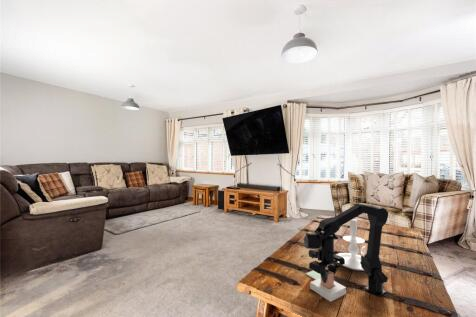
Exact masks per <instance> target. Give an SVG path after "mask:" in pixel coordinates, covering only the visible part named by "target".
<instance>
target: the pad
mask: <svg viewBox="0 0 476 317" xmlns="http://www.w3.org/2000/svg"><path fill="white" fill-rule="evenodd" d="M305 275H306V276H308V277H310V278H311V279H313V280H317V279H319V278H321V275H320V274H319V273H317V272H315V271H313V270H311V271H309V272H305Z"/></svg>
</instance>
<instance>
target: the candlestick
mask: <svg viewBox="0 0 476 317" xmlns="http://www.w3.org/2000/svg"><path fill="white" fill-rule="evenodd" d="M357 234H358V219H356V218H354V219H352V220H350V221H349V235H344V236H342V239H343V240H344V241H346V242H349V245H348V246H347V250H348V252H340V253H336V255H339V256H341V257H343V258H344V260H345V264H343V265H342V266H343V267H344V268H345V267H346V268H347V269H349V270H353V271H364V270H363V268H362V267H361V264H360V262H361V256H365V255H366V253H367V245H364V246H362V247H361V249H360V248H359V247H358V244H364V243H366V242H365V239H364V238H362V237H358V236H357ZM359 252H360V254H361V255H360V254H359ZM338 263H339V261H337V264H338Z"/></svg>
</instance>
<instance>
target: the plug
mask: <svg viewBox="0 0 476 317" xmlns="http://www.w3.org/2000/svg"><path fill="white" fill-rule="evenodd" d="M327 270H328V268H327ZM328 271H329V273H328V277H327V280H326V283H324V282H323V281H322V278H321V285H323V286H324V287H326V288H328V289H331V288H333V287H334V281H335V275H334V273H333V272H332V271H330V270H328Z"/></svg>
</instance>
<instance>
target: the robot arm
mask: <svg viewBox="0 0 476 317" xmlns="http://www.w3.org/2000/svg"><path fill="white" fill-rule="evenodd" d="M363 214H366V215H367V216H366V217H367V220H368V222H369V229H368V230H369V232H368V239H367V246H366V253H365V255H364V256H363V255H360V256H361V262H360V264H361V267H362V268H363V271H364V273H365V274H367V276H368V277H367V278H368V282H367V283H368V286H365V287H364V289H365V290H367V291H369V292H370V293H372V294H374V295H376V296H378V297H381V296H382V295H384V294H385V293H387V290H386V289H383V288H384V286H383V285H384V283H387V282H388V279H389V278H388V276H387V275H386V274H385V273H384V272H383V264H382V262H381V260H380V250H381V241H382V233H383V232H382V231H383V227H384V226H385V225H386V223H387V222H388V218H389V211H388V210H387V209H386V208H384V207H381V206H377V205H370V206H369V205H366V204H363V203H359V202H357V203H355V204H354V205H353V206H351V207H349V208H348V209H345V210H344V211H342V212H341V213H339V214H336V215H335V216H332V217H327V218H324V219H321V220H320V221H319V224H318V226H317V227H316V228H315V230H314V233H310V232H306V233H305V235H304V238H303V244H304V247H305V249H309V250H308V257H309V258H311V259H317V260H313V261H310V262H309V263H308V268H309V269H310V270H311V271H315V272H317V273H319V274H320V275H321V278H322V281H323V282H324V283H326V280H327V277H328V273H329V271H328V270H330V271H332V272H333V273H334V276H335V274H336V273H337V272H338V270H339V268H340V267H341V266H343V264H345V260H344V258H343V257H341V256H339V255H336V254H337V250H335V240H339V239H340V238H339V237H338V236H337V235H336V233H337V232H339V230H340V229H341V227H342V226H343V225H345V224H347V223H350V220H352V219H356V218H357V217H359V216H361V215H363ZM319 261H320V262H319ZM337 261H339V264H338V262H337ZM340 265H341V266H340ZM327 269H328V270H327Z"/></svg>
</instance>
